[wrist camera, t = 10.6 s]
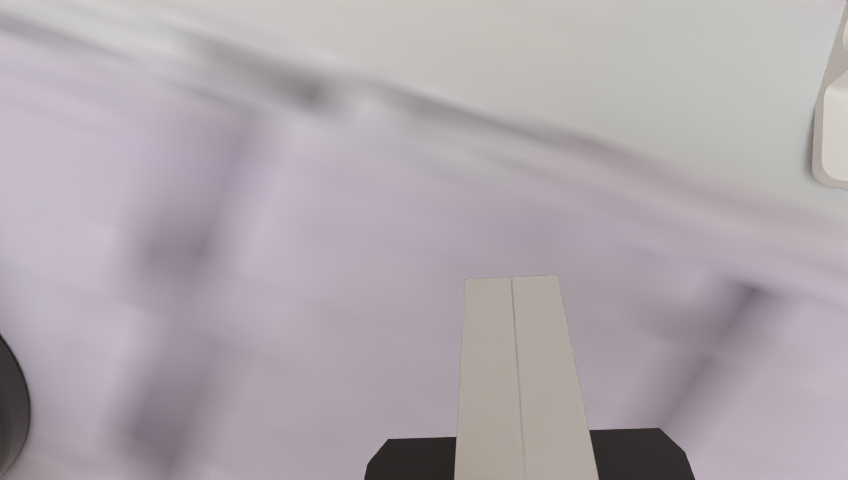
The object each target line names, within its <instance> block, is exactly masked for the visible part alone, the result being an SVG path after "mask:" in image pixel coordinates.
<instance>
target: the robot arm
mask: <svg viewBox="0 0 848 480" xmlns="http://www.w3.org/2000/svg"><path fill="white" fill-rule="evenodd" d="M28 423H29V404H28V397H27V392H26V388H25V385H24V381H23V378H22V376H21V373H20V371H19V368H18V366H17V364H16V362H15V360H14V358H13V357H12V355H11V353H10V351H9V350H8V348H7V347H6V345H5V344H4V343H3V341H2V340H1V339H0V477H1V476H2V475H3V473H4V472H5V471H6V470H7V469H8V468H9V467H10V465H11V464H12V463H13V462H14V461H15V459H16V458H17V456H18V454H19V453H20V451H21V449H22V446H23V444H24V441H25V438H26V435H27V430H28ZM364 480H695V478H694V475H693V472H692V470H691V467H690V464H689V462H688V459H687V456H686V454H685V452H684V451H683V450H682V449H681V448H680V447H679V446H678V445H677V444H676V443H675V442H674V441H672V440H671V439H670V438H669V437H668V436H667V435H666V434H665V433H664V432H663V431H662V430H661V429H660V428H646V429H613V430H589V428H588V423H587V418H586V413H585V408H584V403H583V398H582V393H581V388H580V383H579V379H578V374H577V369H576V364H575V359H574V354H573V349H572V344H571V339H570V334H569V329H568V324H567V319H566V314H565V309H564V304H563V299H562V294H561V289H560V284H559V280H558V275H542V276H521V277H501V278H481V279H465V295H464V313H463V331H462V349H461V367H460V385H459V403H458V421H457V437H441V438H408V439H388V440H387V441H386V442H385V444H384V445H383V446H382V447H381V448H380V450H379V451H378V452H377V453H376V454H375V456H374V457H373V458H372V459H371V460H370V462H369V463H368V464H367V469H366V474H365V478H364Z"/></svg>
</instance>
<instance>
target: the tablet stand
mask: <svg viewBox="0 0 848 480" xmlns="http://www.w3.org/2000/svg"><path fill="white" fill-rule="evenodd" d="M812 172H813V175H814V177H815V178H816V179H817V180H818V181H819V182H820V183H821V184H823V185H825V186H829V187H836V188H843V189H848V0H847V2H846V5H845V9H844V12H843V15H842V18H841V22H840V25H839V28H838V32H837V35H836V38H835V41H834V45H833V48H832V51H831V54H830V58H829V61H828V64H827V68H826V71H825V74H824V77H823V81H822V84H821V87H820V90H819V94H818V97H817V100H816V104H815V117H814V136H813V154H812Z"/></svg>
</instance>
